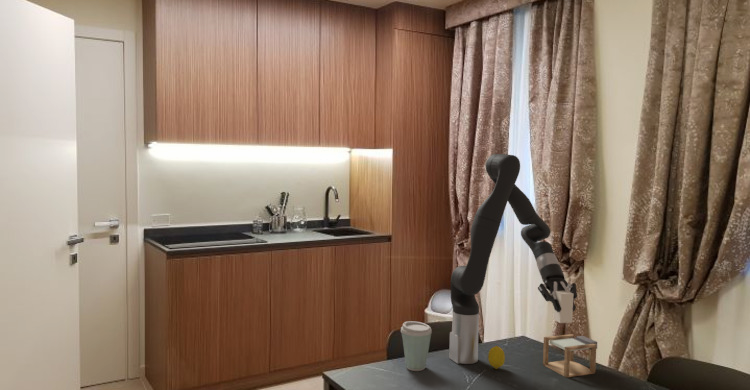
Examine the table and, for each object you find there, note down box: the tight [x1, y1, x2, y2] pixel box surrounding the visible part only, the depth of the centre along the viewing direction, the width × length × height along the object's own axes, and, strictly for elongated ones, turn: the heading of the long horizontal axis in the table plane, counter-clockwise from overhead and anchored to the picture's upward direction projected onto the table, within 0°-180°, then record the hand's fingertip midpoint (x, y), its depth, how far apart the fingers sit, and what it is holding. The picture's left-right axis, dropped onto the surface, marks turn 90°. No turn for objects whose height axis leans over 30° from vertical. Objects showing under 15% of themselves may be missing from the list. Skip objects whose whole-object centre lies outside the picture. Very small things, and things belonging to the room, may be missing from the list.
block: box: [552, 291, 574, 324], centre depth 183 cm, size 4×4×10 cm
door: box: [549, 335, 598, 352], centre depth 184 cm, size 13×9×2 cm
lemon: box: [487, 345, 506, 370], centre depth 182 cm, size 6×6×8 cm
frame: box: [542, 333, 597, 378], centre depth 183 cm, size 12×12×10 cm
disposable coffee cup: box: [400, 320, 433, 372], centre depth 181 cm, size 11×11×15 cm
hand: (566, 310), depth 181 cm, fingers closed on block, 4 cm apart
